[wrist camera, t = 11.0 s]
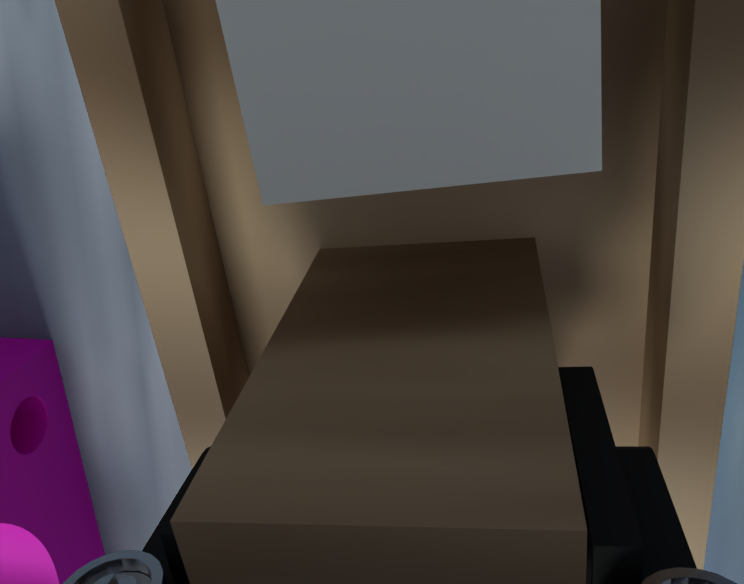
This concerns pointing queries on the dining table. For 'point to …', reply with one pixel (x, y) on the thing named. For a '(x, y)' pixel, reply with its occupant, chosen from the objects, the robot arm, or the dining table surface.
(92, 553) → the toy block
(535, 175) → the grey box
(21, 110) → the dining table surface
